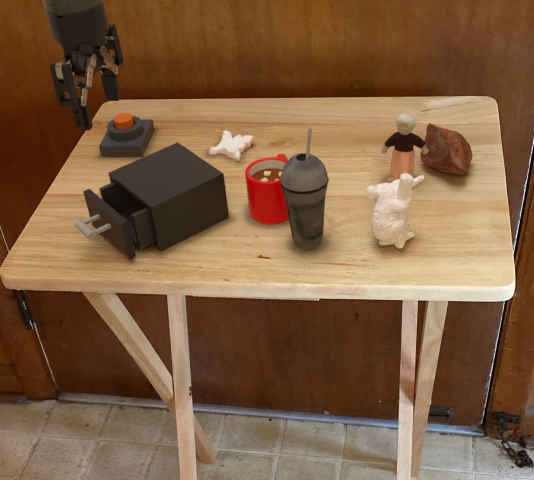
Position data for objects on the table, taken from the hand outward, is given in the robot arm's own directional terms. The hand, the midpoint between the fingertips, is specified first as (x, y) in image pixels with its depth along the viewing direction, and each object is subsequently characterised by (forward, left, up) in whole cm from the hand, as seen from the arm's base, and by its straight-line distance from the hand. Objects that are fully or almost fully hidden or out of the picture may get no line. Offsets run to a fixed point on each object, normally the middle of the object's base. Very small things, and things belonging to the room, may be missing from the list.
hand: (99, 113), depth 115 cm
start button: (+17, +30, -20) cm, 40 cm away
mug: (+25, -6, -24) cm, 35 cm away
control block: (+17, +30, -24) cm, 42 cm away
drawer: (+2, +3, -23) cm, 23 cm away
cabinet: (+10, +3, -24) cm, 26 cm away
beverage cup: (+22, -18, -24) cm, 37 cm away
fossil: (+53, -18, -24) cm, 61 cm away
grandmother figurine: (+45, -16, -24) cm, 53 cm away
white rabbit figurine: (+32, -27, -24) cm, 48 cm away
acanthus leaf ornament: (+30, +14, -24) cm, 41 cm away
